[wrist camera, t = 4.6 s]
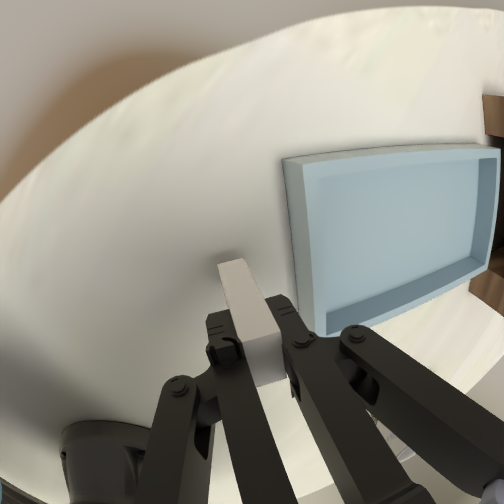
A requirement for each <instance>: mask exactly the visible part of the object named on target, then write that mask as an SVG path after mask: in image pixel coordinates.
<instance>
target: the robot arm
mask: <svg viewBox="0 0 504 504" xmlns="http://www.w3.org/2000/svg"><path fill="white" fill-rule="evenodd" d="M217 266H218V270H219V274H220V278H221V282H222V286H223V290H224V294H225V298H226V302H227V306H228V309H227V310H223V311H219V312H215V313H211V314H209V315H208V317H207V320H206V327H207V333H208V339H209V343H208V345H207V346H206V354H207V356H208V359H209V361H210V364H211V365H210V367H209V368H208V370H206V371H205V372H204V373H203V374H201V375H199V376H197V377H195V378H191V377H189V376H185V375H180V376H175V377H173V378H171V379H169V380H168V381H167V382H166V383H165V384H164V386H163V388H162V391H161V395H160V398H159V402H158V406H157V409H156V413H155V417H154V420H153V424H152V428H151V430H149V429H146V428H142V427H138V426H134V425H129V424H124V423H117V422H109V421H85V422H79V423H75V424H72V425H70V426H68V427H67V428H66V429H65V430H64V431H63V433H62V437H61V443H60V457H61V460H62V466H63V472H64V476H65V480H66V484H67V488H68V492H69V496H70V504H208V494H209V483H210V473H211V462H212V452H213V442H214V433H215V423H217V422H218V421H220V420H222V422H223V426H224V431H225V435H226V440H227V444H228V448H229V452H230V457H231V461H232V465H233V469H234V473H235V477H236V481H237V484H238V488H239V492H240V496H241V499H242V503H243V504H298V502H297V499H296V497H295V494H294V491H293V489H292V486H291V484H290V481H289V478H288V476H287V473H286V471H285V468H284V465H283V463H282V460H281V457H280V454H279V452H278V449H277V446H276V444H275V441H274V438H273V435H272V432H271V430H270V427H269V424H268V421H267V418H266V415H265V413H264V410H263V407H262V404H261V401H260V398H259V395H258V392H257V389H256V387H259V386H262V385H266V384H269V383H273V382H276V381H279V380H282V379H286V378H287V375H288V377H289V379H290V386H291V394H292V398H293V397H295V398H296V400H297V402H298V405H299V407H300V409H301V411H302V413H303V416H304V418H305V420H306V422H307V424H308V427H309V429H310V431H311V433H312V435H313V437H314V440H315V442H316V444H317V446H318V448H319V450H320V452H321V455H322V457H323V459H324V461H325V463H326V465H327V467H328V470H329V472H330V474H331V476H332V478H333V480H334V482H335V484H336V486H337V488H338V491H339V493H340V494H341V497H342V499H343V501H344V503H345V504H436V503H435V501H434V500H433V498H432V497H431V495H430V493H429V492H428V491H427V490H426V488H424V487H423V486H422V485H419V484H416V483H414V482H412V481H411V479H410V478H409V477H408V475H407V473H406V472H405V470H404V469H403V467H402V465H401V464H400V462H399V461H398V459H397V458H396V456H395V454H394V453H393V451H392V450H391V448H390V446H389V445H388V443H387V442H386V440H385V439H384V437H383V435H382V434H381V432H380V431H379V429H378V428H377V426H376V424H375V423H374V421H373V420H372V418H371V417H370V415H369V414H368V412H367V411H369V412H370V413H371V414H372V415H373V416H374V417H375V418H376V419H377V420H379V421H380V422H381V423H382V424H383V425H384V426H385V427H386V428H388V429H389V430H390V431H391V432H392V433H393V434H394V435H396V436H397V437H398V438H399V439H400V440H401V441H402V442H404V443H405V444H406V445H407V446H408V447H409V448H411V449H412V450H413V451H414V452H415V453H416V454H418V455H419V456H420V457H421V458H422V459H423V460H425V461H426V462H427V463H428V464H430V465H431V466H432V467H433V468H434V469H435V470H437V471H438V472H439V473H440V474H441V475H443V476H444V477H445V478H446V479H448V480H449V481H450V482H451V483H453V484H454V485H455V486H456V487H458V488H459V489H461V490H462V491H464V492H466V493H468V494H470V495H472V496H475V497H478V498H481V501H480V503H479V504H504V422H503V421H502V420H500V419H499V418H497V417H496V416H495V415H493V414H492V413H490V412H489V411H488V410H486V409H485V408H483V407H482V406H480V405H479V404H478V403H476V402H475V401H473V400H472V399H470V398H469V397H468V396H466V395H465V394H463V393H462V392H460V391H459V390H458V389H456V388H455V387H453V386H452V385H450V384H449V383H448V382H446V381H445V380H443V379H442V378H440V377H439V376H438V375H436V374H435V373H433V372H432V371H430V370H429V369H427V368H426V367H425V366H423V365H422V364H420V363H419V362H417V361H416V360H415V359H413V358H412V357H410V356H409V355H407V354H406V353H404V352H403V351H402V350H400V349H399V348H397V347H396V346H394V345H393V344H391V343H390V342H389V341H387V340H386V339H384V338H383V337H381V336H380V335H378V334H377V333H376V332H374V331H373V330H371V329H370V328H368V327H366V326H364V325H358V324H357V325H350V326H348V327H345V328H344V329H343V330H342V331H341V334H340V336H336V337H319V336H318V335H317V334H316V333H315V332H312V331H310V330H308V328H307V327H306V325H305V323H304V322H303V320H302V319H301V317H300V316H299V314H298V312H296V309H295V308H294V306H293V305H292V303H291V301H290V300H289V299H288V298H287V297H285V296H283V295H281V294H280V295H277V296H273V297H269V298H266V299H264V297H263V295H262V293H261V291H260V289H259V287H258V285H257V283H256V281H255V279H254V277H253V275H252V273H251V271H250V269H249V267H248V265H247V263H246V261H245V259H244V258H240V259H236V260H232V261H228V262H224V263H220V264H217ZM286 372H287V375H286ZM0 504H48V503H45V502H43V501H41V500H39V499H37V498H36V497H34V496H32V495H30V494H28V493H26V492H24V491H23V490H21V489H19V488H17V487H16V486H14V485H12V484H11V483H9V482H7V481H6V480H4V479H3V478H1V477H0Z"/></svg>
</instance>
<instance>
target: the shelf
mask: <svg viewBox="0 0 504 504" xmlns="http://www.w3.org/2000/svg"><path fill="white" fill-rule="evenodd" d="M482 97H483V106H484V118H485V134H489V135H494V136H499V137H504V97H503V96H491V95H482ZM469 292H471V293H472V294H473V295H475V296H476V297H478V298H479V299H480V300H482V301H483V302H485V303H486V304H487V305H489V306H490V307H491V308H493V309H494V310H495V311H497V312H498V313H499V314H501V315H502V316H503V317H504V246H503V247H501V248H499V249H497V250H495V251H494V252H492V253H490V258H489V263H488V268H487V270H485V271H484V272H482V273H480V274H478V275H477V276H475V277H473V278H472V279H471V283H470V287H469Z"/></svg>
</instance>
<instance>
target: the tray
mask: <svg viewBox="0 0 504 504" xmlns="http://www.w3.org/2000/svg"><path fill="white" fill-rule="evenodd" d="M500 162H501V149H499V148H495V147H491V146H486V145H481V144H476V143H455V144H421V145H402V146H388V147H376V148H365V149H355V150H345V151H337V152H329V153H321V154H313V155H306V156H300V157H293V158H287V159H282V164H283V171H284V179H285V186H286V194H287V202H288V210H289V218H290V227H291V236H292V245H293V254H294V264H295V274H296V284H297V295H298V306H299V316H300V317H301V319H302V320H303V322H304V323H305V325H306V327H307V328H308V330H310V331H312V332H315V333H316V334H317V335H318V336H319V337H336V336H340V334H341V331H342V330H343V329H344V328H345V327H348V326H350V325H357V324H358V325H364V326H366V327H368V328H370V327H372V326H375V325H377V324H379V323H382V322H384V321H386V320H389V319H391V318H393V317H396V316H398V315H400V314H402V313H404V312H407V311H409V310H411V309H413V308H415V307H417V306H419V305H422V304H424V303H426V302H428V301H430V300H432V299H434V298H436V297H438V296H440V295H442V294H444V293H446V292H447V291H449V290H451V289H453V288H455V287H457V286H459V285H461V284H462V283H464V282H466V281H468V280H470V279H471V278H473V277H475V276H477V275H478V274H480V273H482V272H484V271H485V270H487V268H488V263H489V258H490V253H491V248H492V243H493V237H494V231H495V224H496V217H497V208H498V198H499V185H500Z"/></svg>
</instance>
